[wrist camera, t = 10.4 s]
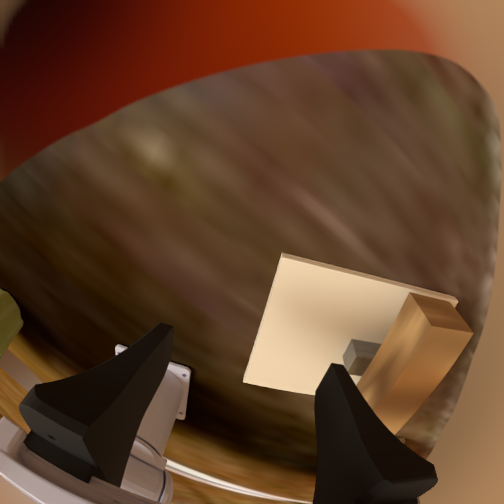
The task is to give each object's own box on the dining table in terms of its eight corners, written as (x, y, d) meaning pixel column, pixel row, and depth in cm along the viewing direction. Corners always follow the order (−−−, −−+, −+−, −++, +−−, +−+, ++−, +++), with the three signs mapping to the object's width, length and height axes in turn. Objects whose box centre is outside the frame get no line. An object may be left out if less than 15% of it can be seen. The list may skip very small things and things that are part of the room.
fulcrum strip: (407, 365, 23) (414, 381, 21) (342, 356, 23) (345, 374, 21) (417, 349, 22) (425, 365, 20) (351, 338, 22) (356, 356, 20)
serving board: (390, 397, 26) (392, 402, 25) (244, 376, 26) (243, 382, 25) (454, 296, 21) (458, 301, 20) (281, 252, 21) (281, 256, 20)
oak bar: (370, 419, 23) (377, 451, 20) (334, 416, 23) (337, 451, 20) (449, 301, 18) (473, 333, 14) (409, 292, 18) (431, 326, 14)
